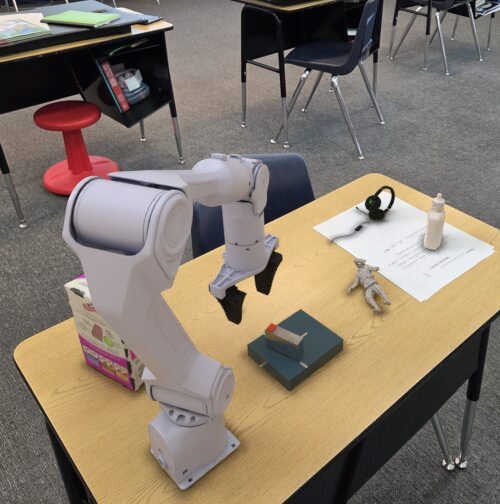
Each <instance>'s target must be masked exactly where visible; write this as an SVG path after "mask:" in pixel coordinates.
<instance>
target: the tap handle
mask: <svg viewBox="0 0 500 504" xmlns="http://www.w3.org/2000/svg"><path fill="white" fill-rule="evenodd" d="M264 332H265V344H266V346H267V347H269V348H271V349H273V350H275V351H278V352H280V353H282V354H284V355H286V356H288V357H290V358H293V359H295V360H297V361H298V359H299V358H300V357H301V356H302V354H303V337H301V336H299V335H297V334H294V333H292V332H290V331H288V330H285V329H283V328H281V327H278V326H277V324H275V323H273V322H271V323H270V324H269V325H268V326H267V327H266V328H265V330H264Z"/></svg>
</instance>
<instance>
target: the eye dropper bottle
mask: <svg viewBox="0 0 500 504" xmlns="http://www.w3.org/2000/svg"><path fill="white" fill-rule="evenodd" d="M442 195H443V194H442V193H439V192H438V193H437V195H436V197H433V198H432V200H431V201H432V202H431V207H430V208H429V210H428V213H427V216H426V217H427V218H426V223H425V231H424V237H423V247H424V248H425V249H427V250H432V251H436V250H437V249H438V248H440V246H441V243H442V238H443V232H444V226H445V219H446V209H445V204H446V199H444V198H443V196H442Z"/></svg>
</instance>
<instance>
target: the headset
mask: <svg viewBox="0 0 500 504" xmlns="http://www.w3.org/2000/svg"><path fill="white" fill-rule="evenodd" d="M385 189H386V190H389V191H390V201H389V203H388V205H387V206H386V208H384V209H383V208H381V206H382V199H381V198H380V197H379V196H380V194H381V193H382V192H383V191H384V190H385ZM395 200H396V192H395V189H394V188H393V187H392V186H389V185H383V186H381V187H380V188H378V190H377V191H376V192H375V193H374V194H372V195H370V196H368V197H367V198H366V199H365V201H364V208H365V209H366V210H367V211H368V213H366V212H364V211H362V210H361V209H360V208H359V207H358V206H355V208H356V209H357V210H359V212H361V213H363V214H365V215H367V216H368V218H369V219H370V220H369V221H368V223H369V222H371V221H381V220H384V219H385V218H386V214H387V213H388V212H389V211H390V210H391V209H392V207H393V205H394V203H395ZM366 223H367V221H363V222H362V223H360V224H359V225H358V226H356V228H354V231H355V232H356V231H357V232H359V231H360V230H361V229H362V228H363V227H364V226H363V225H362V224H366ZM353 234H354V232H352V233H350V234H347V235H340V238H344V237H348V236H352V235H353ZM338 238H339V236H336V237H334V238H333V239H331V241H330V243H332V242H333V241H334V240H335V239H338Z"/></svg>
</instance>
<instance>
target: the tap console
mask: <svg viewBox="0 0 500 504" xmlns="http://www.w3.org/2000/svg"><path fill="white" fill-rule="evenodd" d="M276 325H277V326H278V327H281V328H283V329H285V330H288V331H290V332H292V333H294V334H297V335H299V336H301V337H303V354H302V356H301V357H300V358H299V359H298V361H297V360H295V359H293V358H290V357H288V356H286V355H284V354H282V353H280V352H278V351H275V350H273V349H271V348H269V347H267V346H266V344H265V331H263V332H262V333H261V335H260V336H258V337H257V338H255V339H253V340H252V341H250V342H249V343H248V344H247V345H246V346H247V356H248V357H249V358H250V359H251V360H252V361H254V363H256V364H257V365H258V367H259V368H260V369H261V368H262V369H263V370H264V371H265V372H267V373H268V374H269V375H270V376H271V377H272V378H273V379H275V380H276V381H277V382H278V383H279V384H281V386H283V387H284V388H285V389H286V390H287V391H289V392H291V391H292V390H294V389H295V388H296V387H298V386H299V385H300V384H302V383H303V382H304V381H305V380H307V379H308V378H309V377H310V376H312V375H313V374H314V373H316V372H317V371H319V369H320V368H322V367H323V366H325V364H327V363H329V361H331V360H332V359H334V358H335V357H336V356H337V355H339V354H340V353H341V352H342V351H344V338H342V337H341V336H340V335H338V334H337V333H336V332H334V331H333V330H332V329H330V328H329V327H327V326H326V325H324V324H323V323H321V322H320V321H319V320H317V319H316V318H314V317H313V316H311V315H310V314H309V313H308V312H306V311H305V310H303V309H302V308H300V309H298V310H297V311H295V312H294V313H292V314H291V315H289V316H287V317H286V318H285V319H284V320H281V321H280V322H279V323H277V324H276Z"/></svg>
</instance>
